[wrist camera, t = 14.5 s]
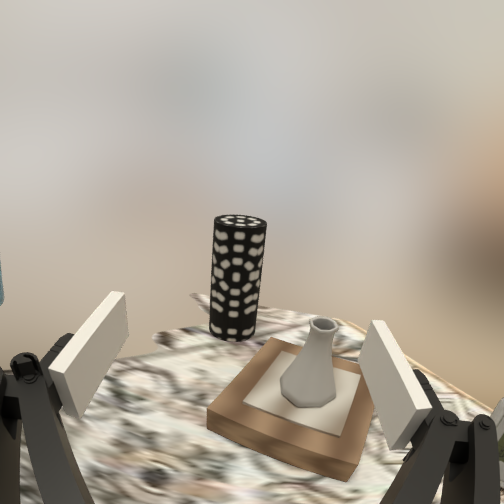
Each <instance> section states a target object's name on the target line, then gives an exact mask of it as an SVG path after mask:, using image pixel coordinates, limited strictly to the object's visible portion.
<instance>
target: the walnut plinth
mask: <svg viewBox="0 0 504 504" xmlns="http://www.w3.org/2000/svg"><path fill="white" fill-rule="evenodd" d="M302 348H303V347H300V346H297V345H294V344H291V343H288V342H285V341H282V340H279V339H276V338H273V337H271V338H270V339H269V340H268V341H267V342H266V343H265V345H264V346H263V347H262V348H261V349H260V350H259V351H258V353H257V354H256V355H255V356H254V357H253V358H252V359H251V361H250V362H249V363H248V364H247V365H246V366H245V367H244V368H243V370H242V371H241V372H240V373H239V374H238V375H237V376H236V377H235V378H234V380H233V381H232V382H231V383H230V384H229V385H228V386H227V387H226V388H225V389H224V390H223V392H222V393H221V394H220V395H219V396H218V397H217V398H216V399H215V400H214V401H213V402H212V403H211V404H210V405H209V406H208V408H207V429H209V430H211V431H213V432H215V433H217V434H219V435H221V436H223V437H225V438H228V439H230V440H232V441H234V442H236V443H239V444H241V445H243V446H245V447H248V448H250V449H252V450H255V451H257V452H259V453H262V454H264V455H267V456H269V457H272V458H274V459H277V460H280V461H282V462H285V463H288V464H290V465H293V466H296V467H299V468H302V469H305V470H308V471H311V472H314V473H317V474H320V475H323V476H327V477H330V478H333V479H337V480H340V481H344V482H347V481H348V479H349V478H350V476H351V475H352V473H353V472H354V470H355V469H356V467H357V466H358V463H359V460H360V457H361V454H362V451H363V447H364V444H365V440H366V437H367V433H368V429H369V426H370V422H371V418H372V414H373V410H374V403H373V400H372V398H371V395H370V392H369V389H368V387H367V384H366V381H365V378H364V376H363V373H362V370H361V368H360V365H359V364H357V363H353V362H350V361H346V360H343V359H339V358H336V357H333V356H332V365H333V374H334V381H335V388H336V397H335V398H334V399H332V400H331V401H329V402H327V403H326V404H324V405H323V406H321V407H297V406H296V405H295V404H293V403H292V402H291V401H290V400H289V399H288V398H286V397H285V396H284V395H283V394H282V393H281V385H280V377H281V376H282V374H283V373H284V372H285V371H286V369H287V368H288V367H289V366H290V365H291V363H292V362H293V361H294V359H295V358H296V357H297V355H298V354H299V352H300V351H301V350H302Z"/></svg>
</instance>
